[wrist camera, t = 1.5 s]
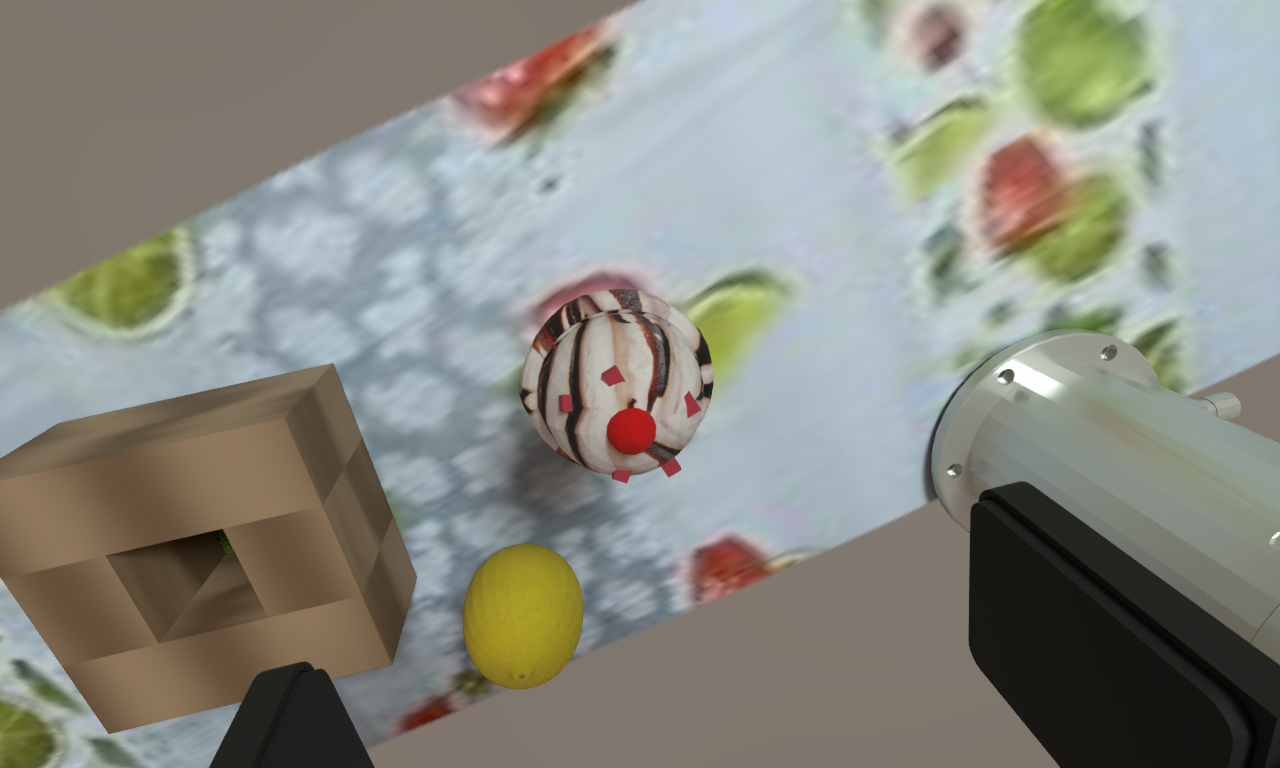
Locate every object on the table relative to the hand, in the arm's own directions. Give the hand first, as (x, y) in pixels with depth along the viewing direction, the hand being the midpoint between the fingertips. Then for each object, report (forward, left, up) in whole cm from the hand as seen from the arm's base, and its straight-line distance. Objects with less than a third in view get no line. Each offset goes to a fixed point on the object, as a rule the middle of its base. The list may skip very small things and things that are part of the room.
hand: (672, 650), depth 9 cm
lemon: (+6, +13, -22) cm, 27 cm away
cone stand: (+18, +7, -22) cm, 29 cm away
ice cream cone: (0, 0, -22) cm, 22 cm away
